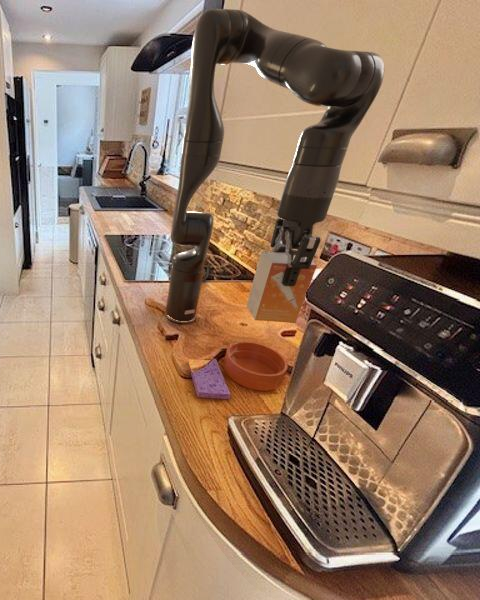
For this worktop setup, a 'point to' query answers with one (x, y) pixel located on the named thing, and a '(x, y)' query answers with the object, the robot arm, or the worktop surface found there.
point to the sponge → (210, 382)
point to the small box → (277, 290)
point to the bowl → (255, 365)
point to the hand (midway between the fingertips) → (281, 277)
